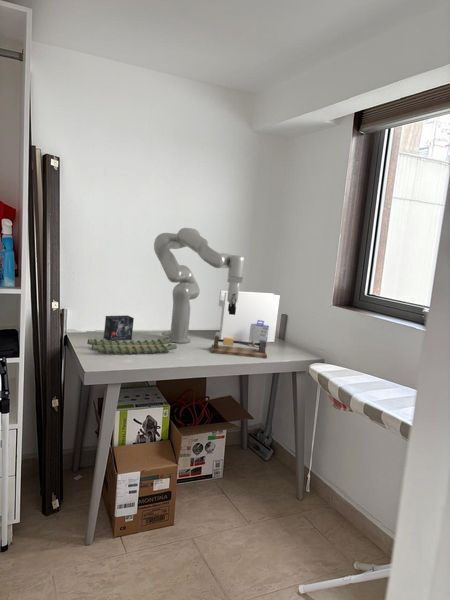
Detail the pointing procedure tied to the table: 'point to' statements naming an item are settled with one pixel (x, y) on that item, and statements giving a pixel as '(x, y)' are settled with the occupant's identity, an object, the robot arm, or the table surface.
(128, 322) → the small box
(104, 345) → the olive green bumpy strip
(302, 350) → the table surface
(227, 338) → the sleeve
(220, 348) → the cord board
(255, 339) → the ink cartridge box
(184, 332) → the robot arm
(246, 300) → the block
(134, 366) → the table surface
